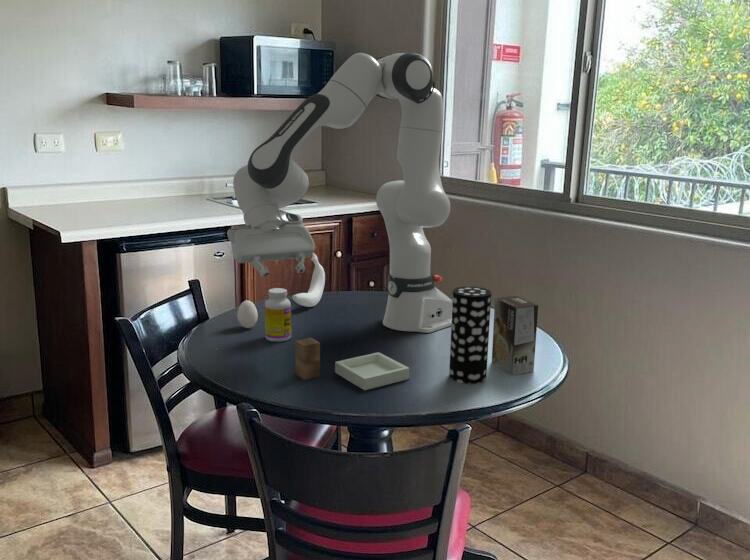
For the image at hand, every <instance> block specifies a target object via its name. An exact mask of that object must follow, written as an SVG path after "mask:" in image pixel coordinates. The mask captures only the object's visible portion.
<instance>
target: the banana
mask: <svg viewBox="0 0 750 560" xmlns="http://www.w3.org/2000/svg"><path fill="white" fill-rule="evenodd" d="M311 256H312V257H310V258H311V261H312V262H313V263H314V268H313V272H312V276H311V281H310V285H309V289H308V290H307V292H299V293H296V294H293V295H292V297H291V299H292V300H293V302H295V303H296V304H297V305H299V306H301V307H302V306H303V307H307V308H311V307H315V306H316V305H317V304H319V302H320V300H321V299H322V296H323V292H324V288H325V285H326V284H325V282H326V273H325V269H324V267H323V266H322V265H321V264H320V262H319V258H318V256H317V254H316V253H315V252H313V254H312V255H311Z"/></svg>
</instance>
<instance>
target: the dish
mask: <svg viewBox="0 0 750 560" xmlns="http://www.w3.org/2000/svg"><path fill="white" fill-rule="evenodd" d="M334 363H335V364H334V373H336V375H339V376H340V377H342V378H344V379H345V380H347V381H348V382H350V383H352V384H353V385H354V386H356V387H358V388H360V389H362V390H363V391H367V390H372V389H375V388H376V389H377V388H380V387H383V386H386V385H387V386H388V385H391V384H395V383H398V382H403V381H407V380H410V370H411V369H410V367H408V366H406V365H405V364H402V363H400V362H398V361H397V360H395V359H393V358H391V357H389V356H387V355H386V354H383V353H382V352H379V351H378V352H373V353H370V354H365V355H360V356H355V357H351V358H347V359H341V360H338V361H335V362H334Z"/></svg>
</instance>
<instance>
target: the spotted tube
mask: <svg viewBox="0 0 750 560" xmlns="http://www.w3.org/2000/svg"><path fill="white" fill-rule="evenodd" d="M491 302H492V291H491V290H490V289H487V288H485V287H481V286H480V287H478V286H458V287H455V288H454V289H452V325H451V326H450V328H451V331H450V348H449V349H450V353H449V368H448V374H449V375H448V377H449V378H450V379H451V380H452V381H454V382H456V383H461V384H467V385H470V384H471V385H472V384H473V385H474V384H480V383H483V382H485V381H486V379H487V372H488V371H487V370H488V369H487V368H488V358H489V357H488V354H489V339H490V320H491V319H490V318H491V307H492V306H491V304H492V303H491Z"/></svg>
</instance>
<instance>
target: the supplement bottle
mask: <svg viewBox="0 0 750 560" xmlns="http://www.w3.org/2000/svg"><path fill="white" fill-rule="evenodd" d="M267 295H268V299H266V300H265V302H264V329H265V330H264V331H265V336H264V337H265V339H266V340H267V341H269V342H276V343H281V342H287V341H289V340H290V339H292V304H291V301H290V299H288V298H287V296H288V290H287V289H285V288H281V287H280V288H279V287H274V288H270V289H269V290H268V294H267Z"/></svg>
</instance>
